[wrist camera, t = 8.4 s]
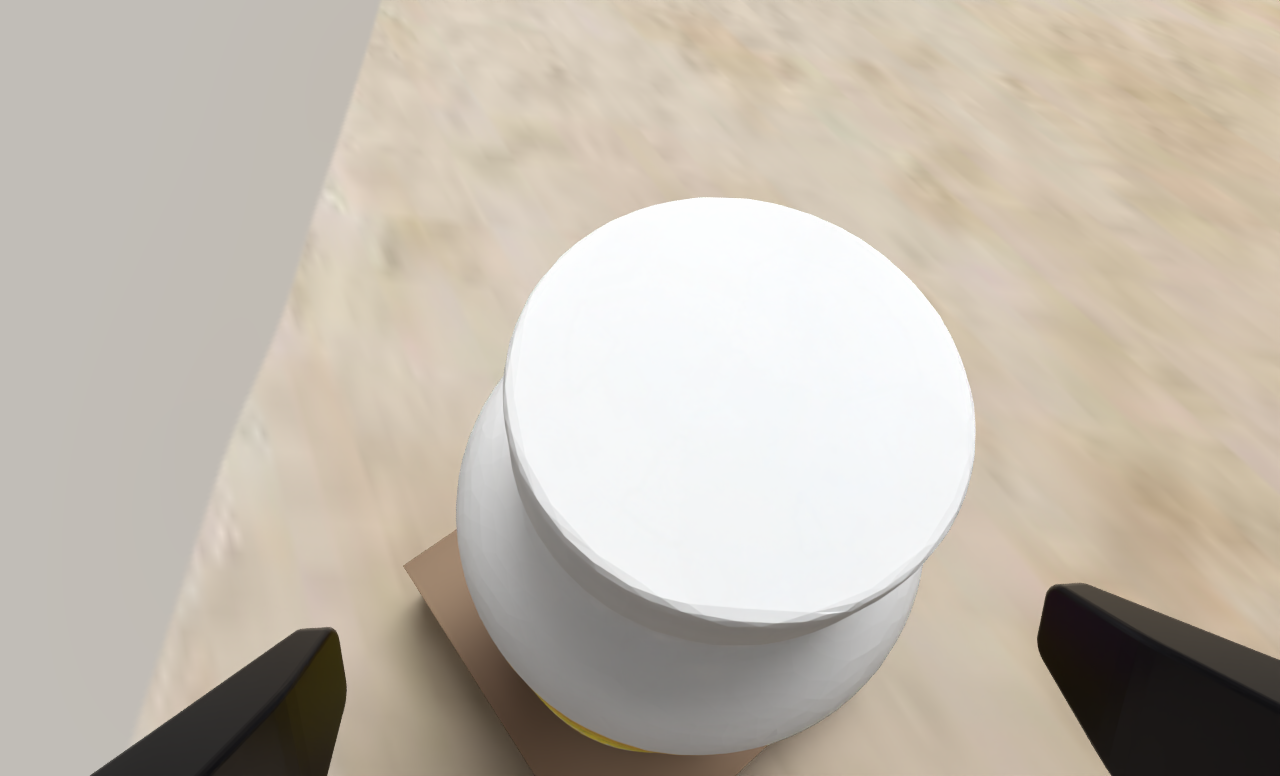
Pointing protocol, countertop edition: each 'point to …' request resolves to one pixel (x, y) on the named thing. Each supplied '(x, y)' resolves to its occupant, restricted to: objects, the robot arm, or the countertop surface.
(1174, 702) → the robot arm
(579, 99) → the countertop surface
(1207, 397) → the countertop surface
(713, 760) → the walnut stand
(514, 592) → the supplement bottle
